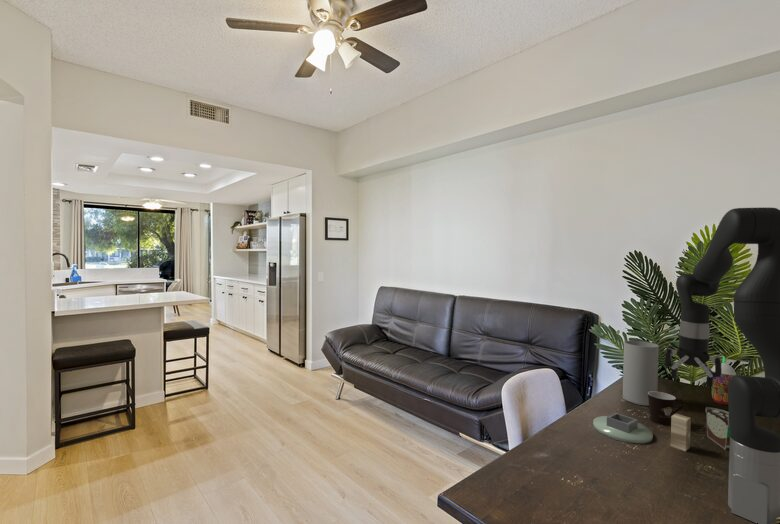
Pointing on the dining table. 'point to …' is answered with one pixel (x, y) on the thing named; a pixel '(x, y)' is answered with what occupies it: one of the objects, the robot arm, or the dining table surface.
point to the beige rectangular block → (680, 432)
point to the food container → (718, 427)
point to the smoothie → (722, 383)
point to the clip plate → (623, 428)
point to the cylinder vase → (639, 371)
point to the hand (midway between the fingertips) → (691, 383)
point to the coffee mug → (662, 407)
